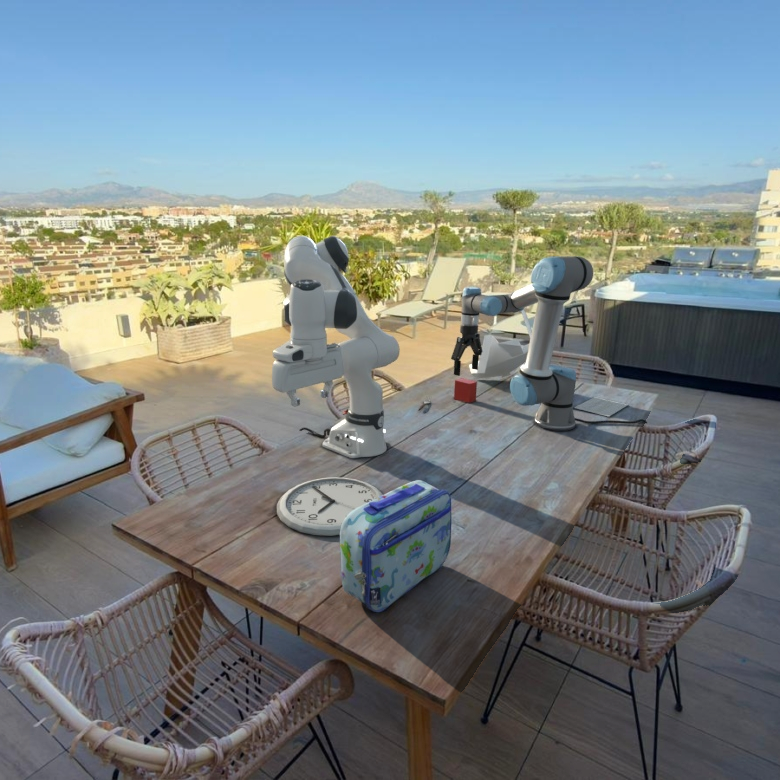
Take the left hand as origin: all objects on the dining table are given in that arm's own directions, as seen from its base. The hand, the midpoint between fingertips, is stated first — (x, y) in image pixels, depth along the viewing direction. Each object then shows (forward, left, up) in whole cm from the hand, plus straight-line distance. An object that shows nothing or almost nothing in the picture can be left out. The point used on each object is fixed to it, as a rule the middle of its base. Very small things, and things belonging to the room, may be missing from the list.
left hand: (310, 401), depth 132 cm
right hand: (-1, +110, -18) cm, 111 cm away
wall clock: (+3, +4, -30) cm, 31 cm away
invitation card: (+54, +132, -30) cm, 146 cm away
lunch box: (+34, -16, -30) cm, 49 cm away
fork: (-12, +92, -30) cm, 97 cm away
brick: (0, +110, -30) cm, 114 cm away
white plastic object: (+10, +141, -30) cm, 145 cm away
